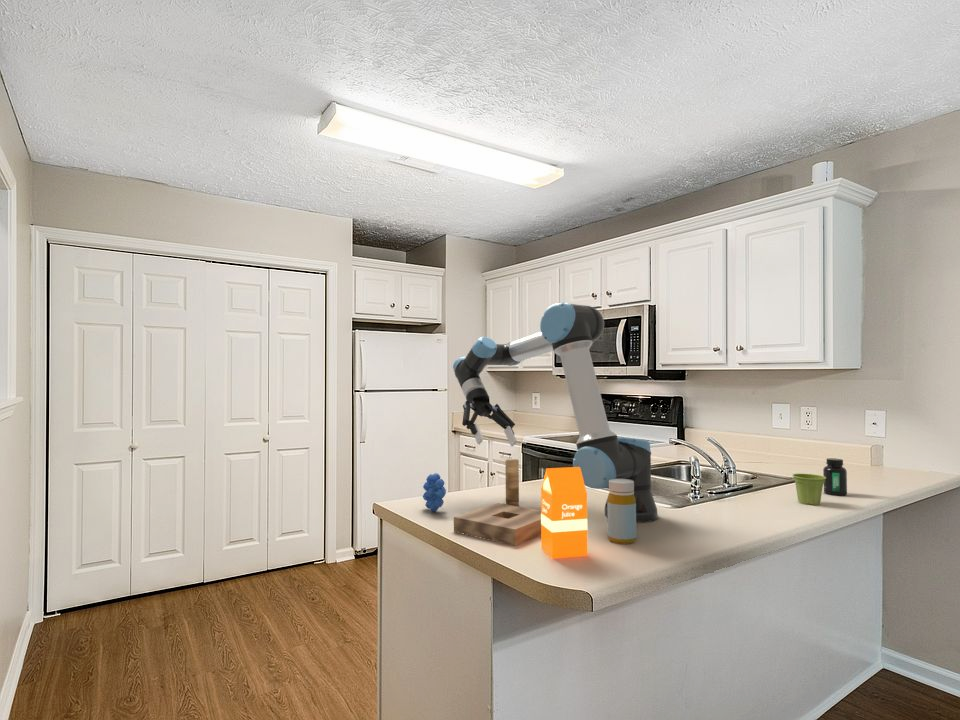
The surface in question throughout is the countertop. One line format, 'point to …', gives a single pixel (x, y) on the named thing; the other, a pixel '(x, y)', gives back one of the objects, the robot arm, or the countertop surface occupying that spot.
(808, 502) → the plant pot
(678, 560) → the countertop surface
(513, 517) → the walnut board
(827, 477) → the supplement bottle
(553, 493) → the orange juice
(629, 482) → the bottle
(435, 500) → the grapes
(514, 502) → the oak leg
